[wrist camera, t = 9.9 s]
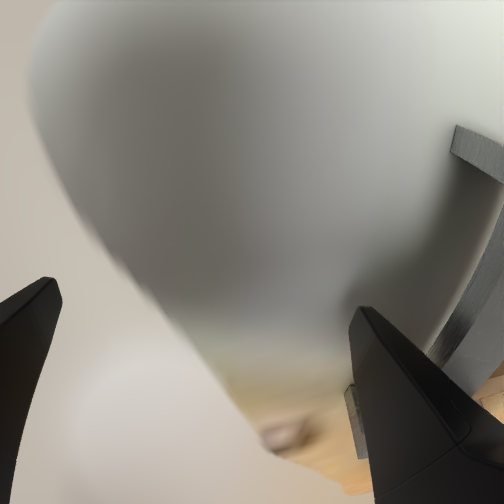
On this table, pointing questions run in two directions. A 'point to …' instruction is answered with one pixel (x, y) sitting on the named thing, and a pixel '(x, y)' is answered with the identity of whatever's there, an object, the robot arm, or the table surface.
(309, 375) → the table surface
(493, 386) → the base
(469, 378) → the grey bracket bar
